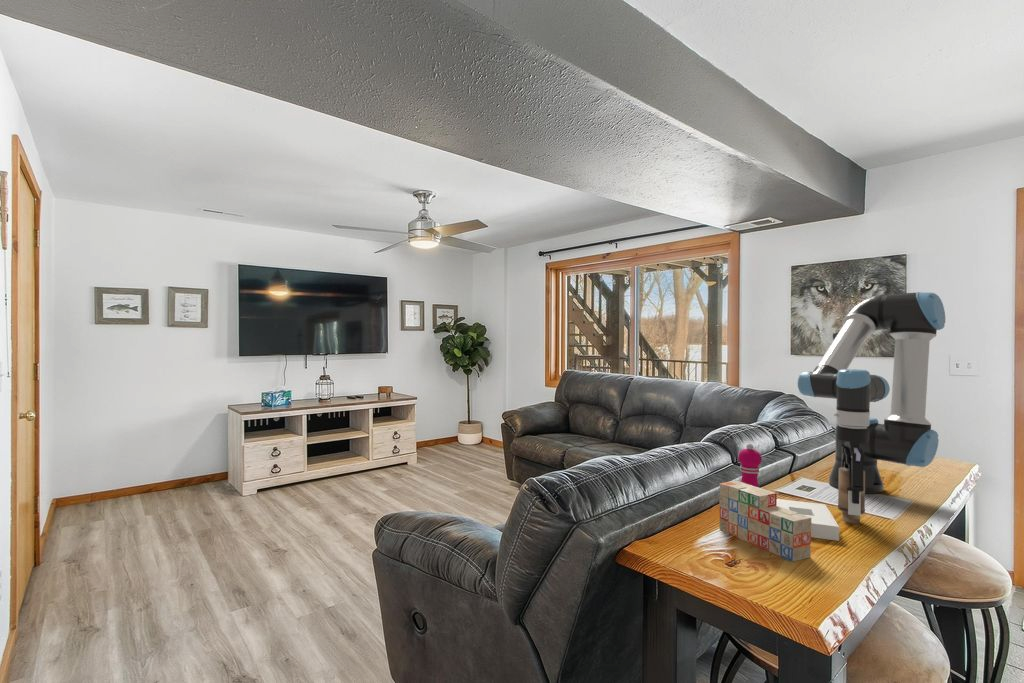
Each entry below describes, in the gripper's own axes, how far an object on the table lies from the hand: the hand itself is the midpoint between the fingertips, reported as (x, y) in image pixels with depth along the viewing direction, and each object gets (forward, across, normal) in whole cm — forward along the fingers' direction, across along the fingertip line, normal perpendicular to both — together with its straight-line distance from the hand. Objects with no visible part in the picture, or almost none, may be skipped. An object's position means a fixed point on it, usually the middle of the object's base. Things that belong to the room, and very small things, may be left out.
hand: (851, 510), depth 138 cm
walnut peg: (+3, 0, 0) cm, 3 cm away
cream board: (+3, +8, -13) cm, 16 cm away
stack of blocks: (+3, +25, -24) cm, 35 cm away
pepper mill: (+3, +5, -26) cm, 26 cm away
